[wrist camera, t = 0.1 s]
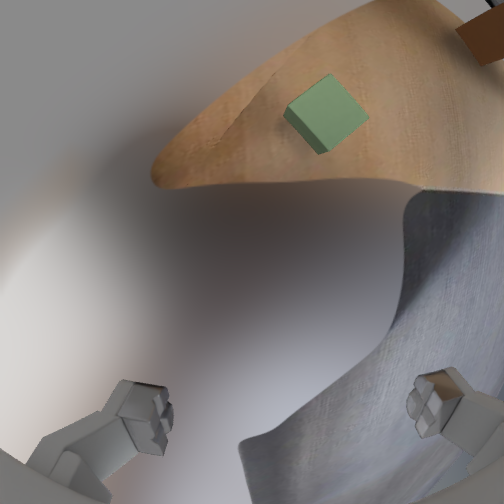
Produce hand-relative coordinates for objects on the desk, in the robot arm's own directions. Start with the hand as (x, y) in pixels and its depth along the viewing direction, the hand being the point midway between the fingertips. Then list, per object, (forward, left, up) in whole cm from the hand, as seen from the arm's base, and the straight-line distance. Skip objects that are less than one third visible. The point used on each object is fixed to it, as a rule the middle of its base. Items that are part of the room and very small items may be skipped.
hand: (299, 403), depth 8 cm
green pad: (-11, +3, -15) cm, 19 cm away
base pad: (-25, +24, -15) cm, 38 cm away
